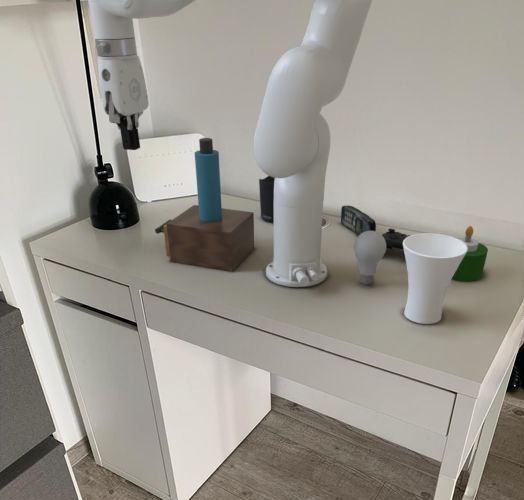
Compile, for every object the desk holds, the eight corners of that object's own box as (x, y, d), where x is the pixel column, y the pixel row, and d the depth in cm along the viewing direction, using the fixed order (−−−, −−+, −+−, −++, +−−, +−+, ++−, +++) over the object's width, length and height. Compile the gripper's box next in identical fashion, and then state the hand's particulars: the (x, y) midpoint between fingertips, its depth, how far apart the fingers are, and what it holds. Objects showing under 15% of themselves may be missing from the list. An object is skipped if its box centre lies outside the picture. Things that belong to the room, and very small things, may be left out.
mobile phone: (339, 204, 134) (372, 223, 122) (350, 202, 135) (383, 221, 123) (338, 224, 137) (370, 244, 125) (348, 222, 138) (381, 242, 126)
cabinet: (170, 261, 119) (166, 223, 114) (196, 240, 128) (193, 204, 124) (232, 271, 114) (230, 232, 109) (254, 249, 124) (253, 212, 119)
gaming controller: (360, 239, 116) (381, 217, 122) (360, 262, 120) (381, 240, 126) (423, 254, 109) (443, 230, 115) (421, 279, 113) (440, 255, 119)
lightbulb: (364, 274, 112) (369, 223, 106) (387, 285, 108) (394, 232, 102) (344, 283, 109) (348, 231, 103) (367, 294, 105) (373, 240, 99)
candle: (454, 283, 108) (463, 236, 103) (432, 266, 115) (440, 221, 110) (490, 278, 110) (502, 231, 105) (467, 262, 117) (476, 216, 111)
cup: (393, 327, 95) (403, 255, 87) (392, 299, 103) (401, 231, 96) (455, 333, 93) (472, 259, 86) (449, 303, 102) (464, 234, 94)
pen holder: (256, 212, 144) (256, 174, 138) (291, 210, 145) (292, 172, 139) (263, 225, 136) (262, 185, 130) (299, 222, 137) (301, 183, 132)
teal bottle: (223, 220, 115) (219, 141, 106) (201, 222, 114) (195, 142, 105) (219, 213, 119) (215, 135, 110) (197, 215, 118) (191, 137, 109)
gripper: (110, 53, 98) (127, 158, 108) (153, 46, 109) (165, 142, 119) (76, 53, 100) (95, 156, 110) (121, 46, 112) (135, 140, 122)
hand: (131, 148), depth 115 cm, fingers closed
